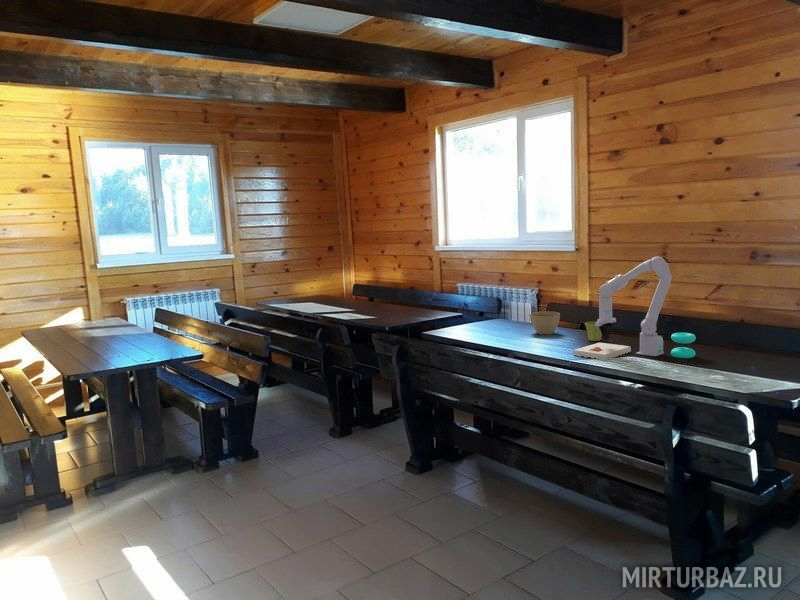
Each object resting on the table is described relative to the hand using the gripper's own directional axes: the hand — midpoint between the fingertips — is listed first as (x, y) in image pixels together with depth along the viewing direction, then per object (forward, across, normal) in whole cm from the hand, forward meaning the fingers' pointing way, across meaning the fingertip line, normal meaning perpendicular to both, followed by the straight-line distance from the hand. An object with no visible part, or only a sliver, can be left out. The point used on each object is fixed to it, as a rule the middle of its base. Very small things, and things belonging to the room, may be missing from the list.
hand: (605, 339), depth 291 cm
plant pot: (+6, -23, -20) cm, 31 cm away
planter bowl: (+6, -24, -51) cm, 57 cm away
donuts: (+7, -13, +30) cm, 33 cm away
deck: (+6, +3, 0) cm, 7 cm away
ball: (+4, +8, 0) cm, 9 cm away
